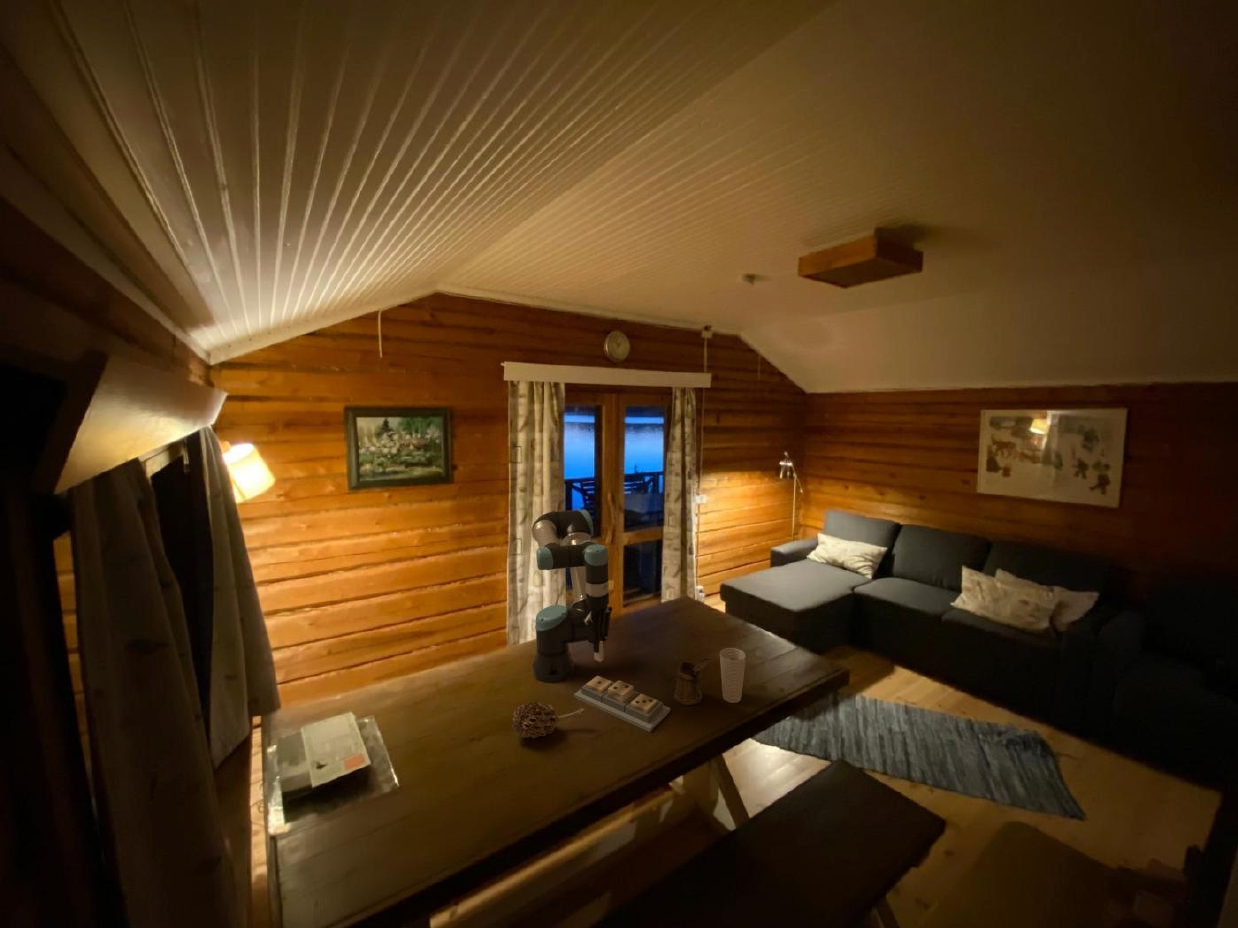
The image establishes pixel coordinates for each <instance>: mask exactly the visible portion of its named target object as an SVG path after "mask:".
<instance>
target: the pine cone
mask: <svg viewBox="0 0 1238 928" xmlns="http://www.w3.org/2000/svg"><path fill="white" fill-rule="evenodd" d="M584 711H585V709H584V708H581V707H580V708H579V710H576V711H574V712H571V713H567V714H563V715H559V716H558V714H556V713H555V709H554V707H553V705H552V704H548V703H547V702H544V703H542V702H540V701H539V702H537V701H534V703H533V702H529V703H527V704H522V705H520V706H518V707H517V709H516V710H515V711H513V717H512V729H513V731H514V732H515V731H516V734H517V735H519V736H521V735H522V737H524V738H527V739H528V738H530V737H531V738H532V739H535V738H539V737H545V736H547V735H550V734H553V732H554V729H555V725H556V724H558V723H557V722H560V721H565V720H568V719H571V718H576V717H579V716H584Z"/></svg>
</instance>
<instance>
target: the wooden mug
mask: <svg viewBox="0 0 1238 928" xmlns="http://www.w3.org/2000/svg"><path fill="white" fill-rule="evenodd" d="M710 661H711V660H710V658H704V659H702V660H701V661H698V662H697V663H695V662H693V661H686V660H685V661H683V662H680V663H679V666H678V669H677V679H676V685H675V686H676V687H675V690H674V695H673V697H674V700H675V701H676V702H678V703H680V704H682V705H685V706H692V705H696V704H699V703H700V702H701V700H702V699H703V693H702V691H701V688H702V685H703V676H702V675H703V674H702V672H701V671H702V670H703V669H705V668H706V667H707V666H708V665H709V664H710Z"/></svg>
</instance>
